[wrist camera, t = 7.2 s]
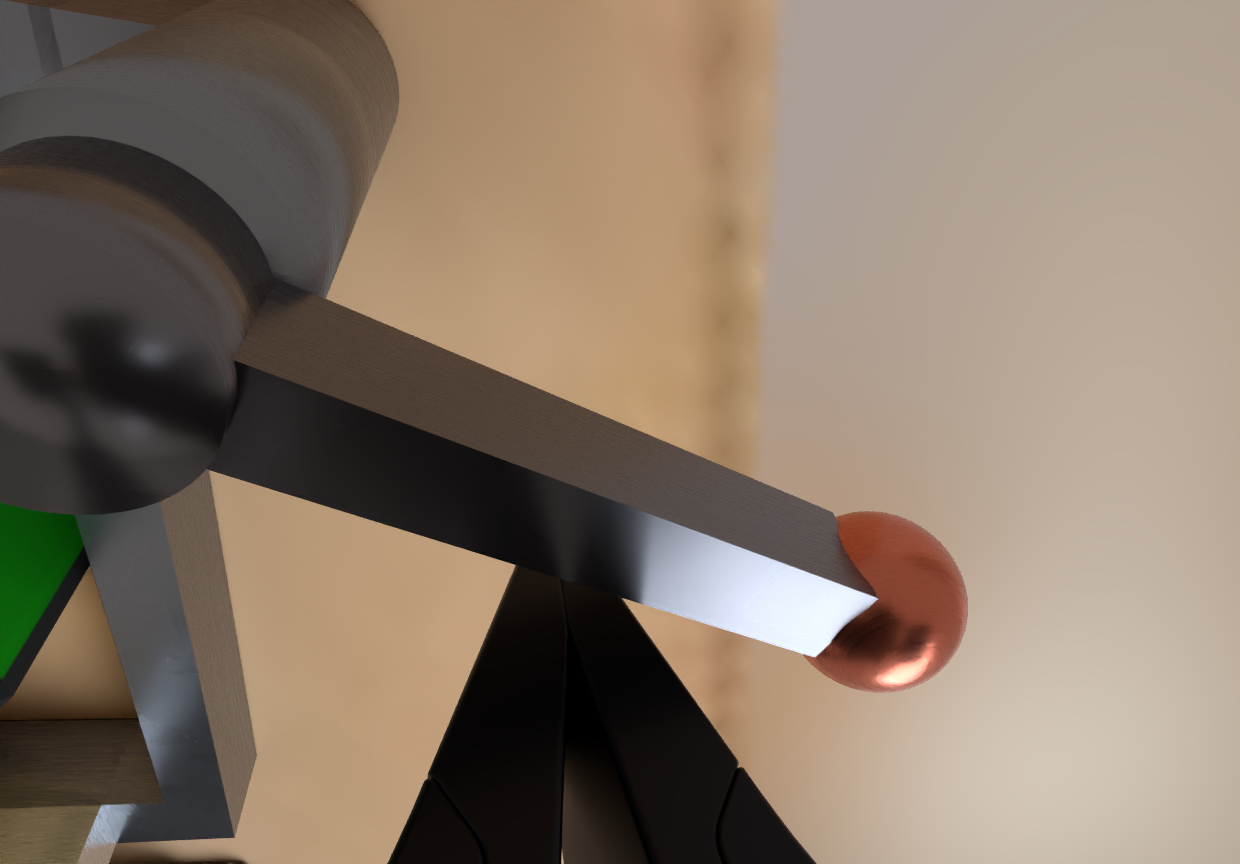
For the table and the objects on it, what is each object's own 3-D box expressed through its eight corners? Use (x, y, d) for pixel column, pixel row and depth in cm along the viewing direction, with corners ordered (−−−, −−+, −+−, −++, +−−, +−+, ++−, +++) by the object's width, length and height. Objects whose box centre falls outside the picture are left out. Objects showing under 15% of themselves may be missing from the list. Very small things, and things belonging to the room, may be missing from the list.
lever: (-30, 310, 7) (-208, 460, 5) (11, 58, 6) (-202, 138, 4) (840, 611, 11) (904, 747, 9) (955, 502, 10) (1051, 633, 8)
